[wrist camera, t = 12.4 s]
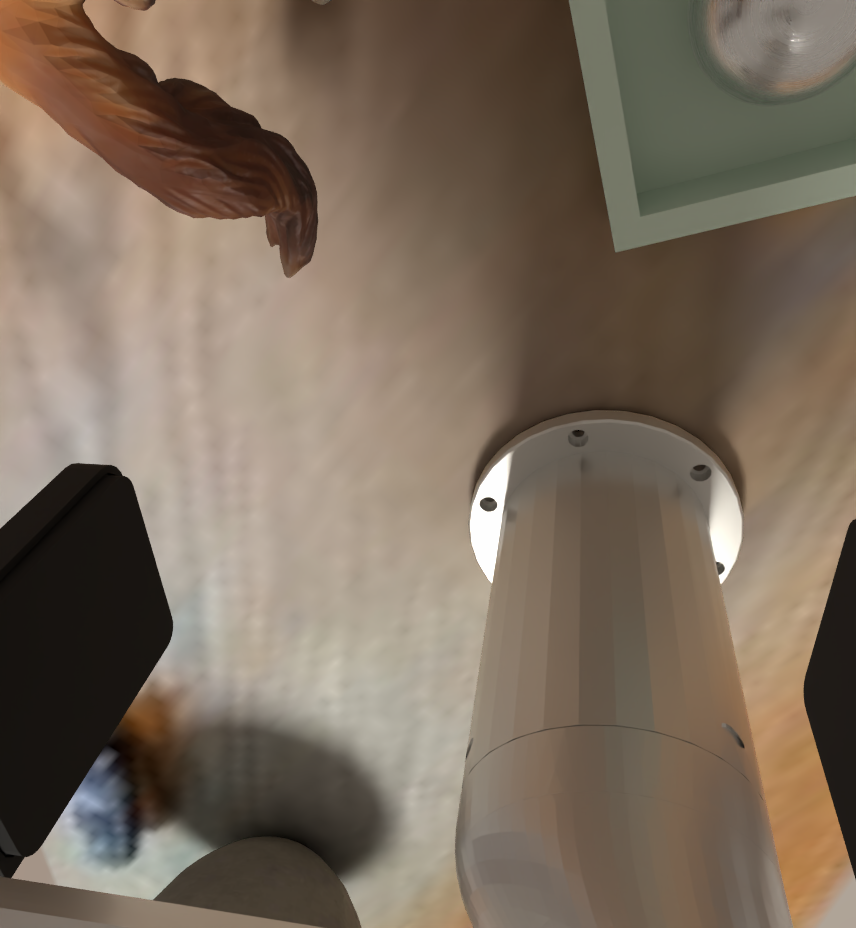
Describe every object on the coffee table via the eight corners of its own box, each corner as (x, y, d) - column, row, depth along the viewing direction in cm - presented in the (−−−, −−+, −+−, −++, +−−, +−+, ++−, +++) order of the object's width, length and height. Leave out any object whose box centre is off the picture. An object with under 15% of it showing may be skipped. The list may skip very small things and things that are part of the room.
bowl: (378, 945, 65) (348, 1089, 57) (164, 878, 65) (103, 1012, 57) (437, 833, 55) (410, 990, 46) (180, 752, 54) (109, 895, 46)
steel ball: (870, 63, 25) (929, 85, 20) (691, 113, 27) (709, 144, 22) (866, -143, 22) (932, -170, 18) (668, -73, 24) (683, -81, 20)
